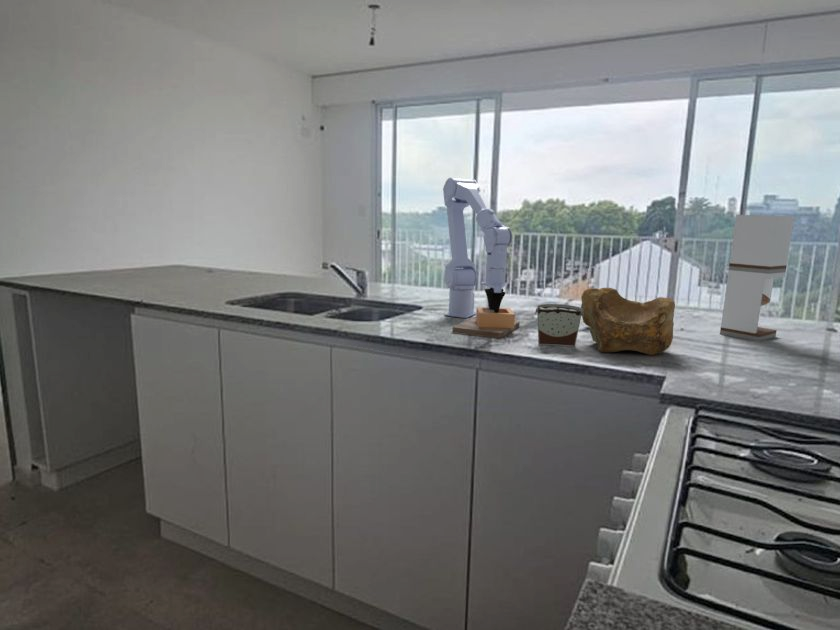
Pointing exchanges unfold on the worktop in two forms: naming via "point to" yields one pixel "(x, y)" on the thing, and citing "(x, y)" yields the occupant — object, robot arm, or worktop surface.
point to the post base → (482, 328)
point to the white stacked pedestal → (754, 272)
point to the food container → (558, 324)
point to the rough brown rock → (628, 321)
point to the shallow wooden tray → (495, 318)
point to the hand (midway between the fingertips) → (493, 313)
